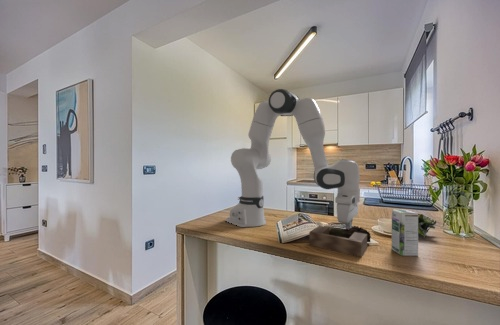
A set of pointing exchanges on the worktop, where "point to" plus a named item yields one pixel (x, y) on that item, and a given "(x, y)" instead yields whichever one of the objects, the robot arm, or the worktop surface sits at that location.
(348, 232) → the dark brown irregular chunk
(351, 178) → the robot arm
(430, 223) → the green leafy plant
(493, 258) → the worktop surface
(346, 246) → the socket block
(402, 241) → the syrup box
